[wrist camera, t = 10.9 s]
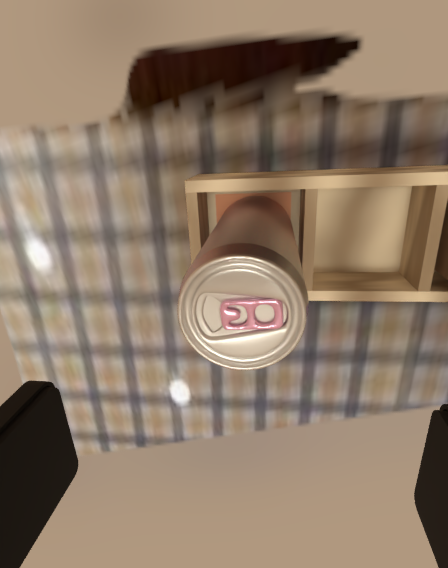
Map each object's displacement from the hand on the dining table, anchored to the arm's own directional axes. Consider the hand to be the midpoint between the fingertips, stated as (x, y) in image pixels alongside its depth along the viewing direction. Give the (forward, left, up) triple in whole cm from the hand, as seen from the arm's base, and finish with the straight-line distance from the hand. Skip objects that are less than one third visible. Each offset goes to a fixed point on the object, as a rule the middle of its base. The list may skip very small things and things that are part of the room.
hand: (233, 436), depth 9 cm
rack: (-8, 0, -23) cm, 24 cm away
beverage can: (0, 0, -22) cm, 22 cm away
